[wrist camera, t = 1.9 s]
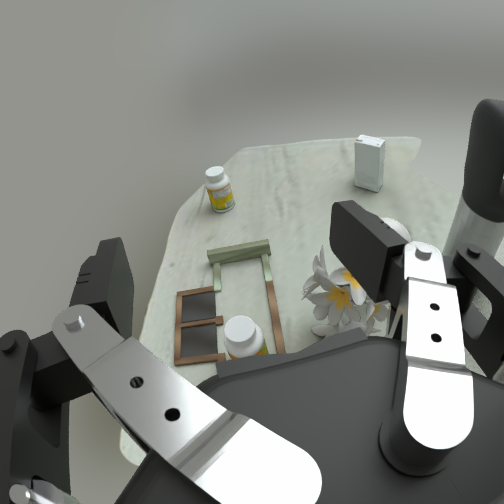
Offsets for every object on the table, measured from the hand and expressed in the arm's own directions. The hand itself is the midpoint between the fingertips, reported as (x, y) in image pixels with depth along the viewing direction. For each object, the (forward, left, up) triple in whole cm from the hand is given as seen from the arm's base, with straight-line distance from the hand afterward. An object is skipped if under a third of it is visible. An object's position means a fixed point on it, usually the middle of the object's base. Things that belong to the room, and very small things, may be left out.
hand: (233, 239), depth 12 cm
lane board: (+22, -7, -37) cm, 43 cm away
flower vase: (+8, -24, -37) cm, 45 cm away
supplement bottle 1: (+46, -24, -37) cm, 63 cm away
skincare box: (+25, -51, -37) cm, 67 cm away
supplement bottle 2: (+13, -4, -37) cm, 39 cm away
